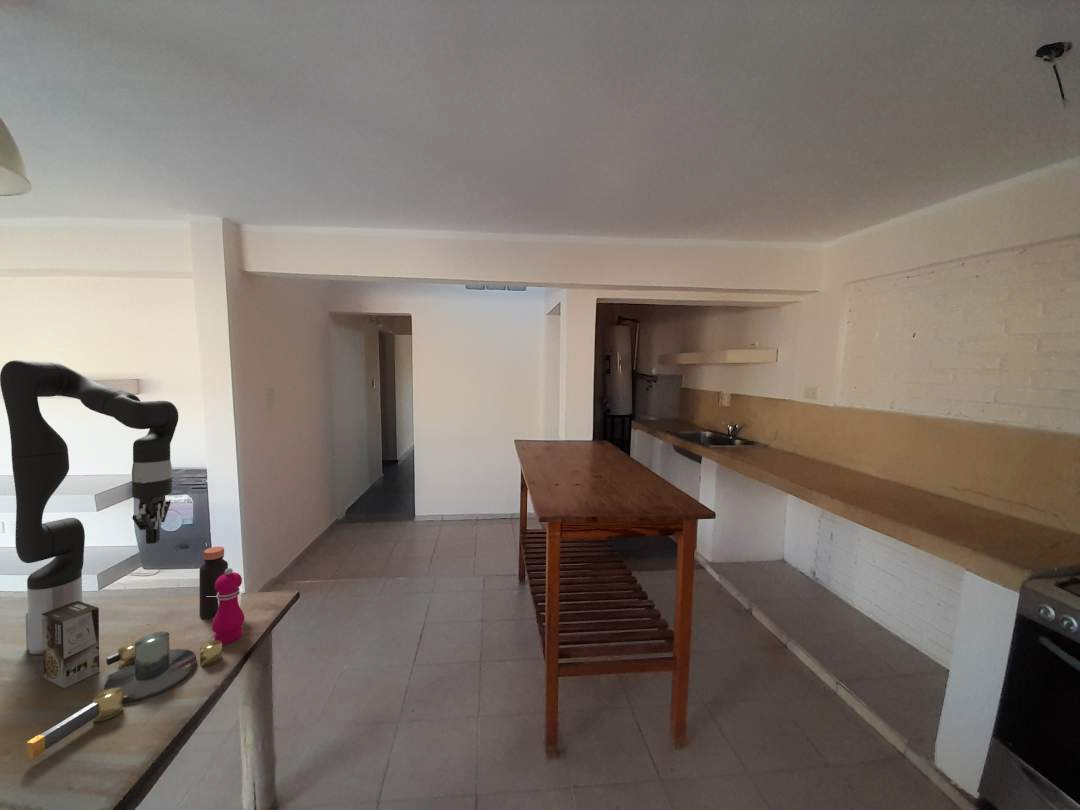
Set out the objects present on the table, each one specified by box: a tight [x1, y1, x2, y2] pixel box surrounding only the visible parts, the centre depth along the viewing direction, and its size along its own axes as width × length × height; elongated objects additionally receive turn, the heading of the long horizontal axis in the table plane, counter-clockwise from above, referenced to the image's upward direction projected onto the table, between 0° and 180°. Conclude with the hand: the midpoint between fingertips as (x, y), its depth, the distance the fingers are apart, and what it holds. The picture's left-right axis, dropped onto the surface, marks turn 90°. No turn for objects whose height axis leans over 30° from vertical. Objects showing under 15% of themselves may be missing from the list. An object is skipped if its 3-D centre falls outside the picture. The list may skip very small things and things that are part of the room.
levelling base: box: [103, 631, 223, 704], centre depth 99 cm, size 23×19×10 cm
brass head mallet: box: [26, 687, 124, 759], centre depth 82 cm, size 14×4×4 cm, turn 170°
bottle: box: [199, 546, 229, 619], centre depth 124 cm, size 7×7×20 cm
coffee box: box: [41, 601, 100, 689], centre depth 97 cm, size 9×6×16 cm
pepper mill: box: [211, 567, 245, 645], centre depth 112 cm, size 7×7×20 cm
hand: (152, 542), depth 106 cm, fingers closed
